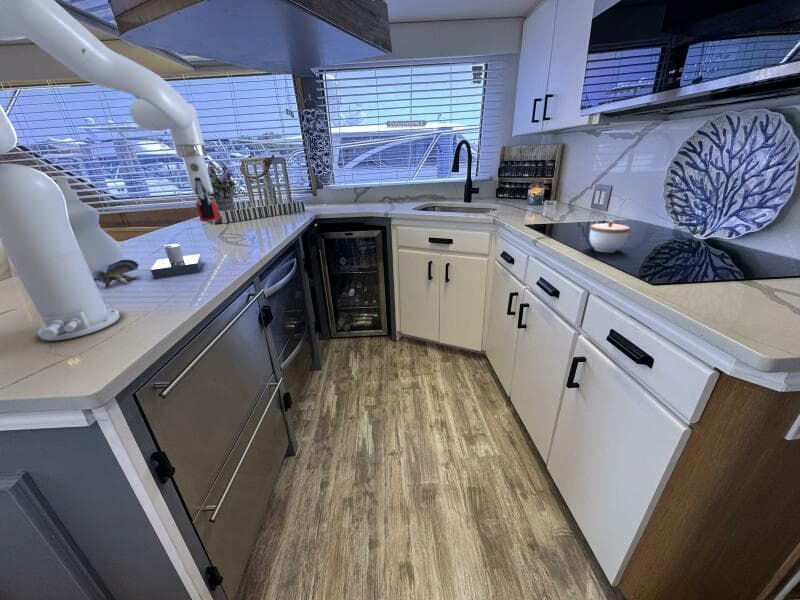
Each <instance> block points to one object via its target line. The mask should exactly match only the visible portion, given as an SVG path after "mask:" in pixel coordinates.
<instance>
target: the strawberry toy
mask: <svg viewBox="0 0 800 600" xmlns="http://www.w3.org/2000/svg"><path fill="white" fill-rule="evenodd" d="M210 199H211V198H210ZM210 199H209V201H210V204H211V205H212V209H213V212H214V216H215V217H214V218H209V219H203V218H202V214H201V211H200V207H199V201H197V202H195V206H196V210H197V214H198V217H199V219H200V222H210V221H211V222H213V221H217V220H220V215H219V212H218V208H217V204H216V201H215V200H212V199H211V200H210Z"/></svg>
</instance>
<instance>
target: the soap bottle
mask: <svg viewBox="0 0 800 600" xmlns="http://www.w3.org/2000/svg"><path fill="white" fill-rule="evenodd" d="M50 178H51V179H52V180H53V179H54V180H55V181H56V184H57V185H58V186H59V188H60V190H61V192H62V194H63V196H64V199H65V204H66V209H67V214H68V219H69V222H70V226H71V228H72V231H73V234H74V236H75V239H76V241H77V243H78V246H79V248H80V250H81V252H82V254H83V256H84V259H85V261H86V263H87V265H88V268H89V270H90V272H91V275H92V277H93V279H94V280H95V279H96V280H97V279H98V278H97V277H95V276H94V275H93V272H95V271H97V270H100V271H103V272H107V269H108V266H109V265H111V264H114V263H116V262H118V261H120V260H124V256H123V255H124V254H123V249H122V248H121V246H120V245H119V244H118V241H117V240H116V239H114V238H113V237H112V236H111V235H109V234H108V233H107V232H105V231H104V229H102V227H101V225H100V223H99V222H100V213H99V211H98V209H97V208H96V207H95V208H94V207H93V206H91V205H89V204H86V203H84V202H83V201H82V200H81V199H80V198H79V195H78V193H77V191H76V188H71V185H70V183H69V180H76V179H77V178H76V177H74V176H71V175H55V176H51V177H50Z"/></svg>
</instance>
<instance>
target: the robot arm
mask: <svg viewBox="0 0 800 600" xmlns="http://www.w3.org/2000/svg"><path fill="white" fill-rule="evenodd" d="M22 39H28V40H29V41H31V42H32V43H34V44H35V45H37V46H38V47H39V48H41V49H42V50H43V51H44V52H46V53H47V54H49V55H50V56H52V57H53V58H54V59H55V60H57V61H58V62H59V63H61V64H62V65H63V66H65V67H66V68H67V69H68V70H70V71H71V72H73V73H74V74H75V75H76V76H78V77H79V78H81V79H82V80H83V81H86V82H88V83H91V84H93V85H96V86H99V87H103V88H106V89H110V90H115V91H118V92H123V93H126V94H129V95H132V96H135V97H136V98H137V99H134V100H133V101H132V102H131V103H130V105H129V108H128V109H129V111H128V112H129V115H130V118H131V120H132V121H133V122H134V123H135V124H136V125H137V126H138V127H139V128H141V129H143V130H145V131H148V132H153V133H157V132H159V133H160V132H169V133H170V136H171V139H172V143H173V146H174V150H175V153H176V156H177V159H181V160H183V164H184V168H185V171H186V174H187V178H188V181H189V184H190V187H191V190H192V193H193V194H194V195H196V197H197V202H199V207H200V211H201V214H202V218H203V219H209V218H214V217H215V216H214V212H213V209H212V205H211V204H210V201H209V199H210V200H211V201H212V199H211V196H210V194H211V195H212V194H213V193H214V188H213V184H212V181H211V177H210V173H209V169H208V166H207V163H206V160H205V159H208V153H207V148H206V146H205V141H204V138H203V137H204V136H203V134H202V129H201V125H200V122H199V118H198V114H197V111H196V108H195V106H194V105H192V103H188V102H187V101H186V100H185V99H184V98H183V96H181V94H180V93H179V92H178V91H176V89H175V88H173V87H172V85H170V83H168V82H167V81H166V80H165V79H164V78H162V77H161V76H160V75H159V74H157V73H155V72H154V71H152V70H150V69H148V68H147V67H145V66H143V65H141V64H139V63H137V62H136V61H134V60H131V59H130V58H128V57H126V56H124V55H122V54H120V53H117V52H115V51H113V50H112V49H111V48H109V47H107V46H106V45H105V44H104V43H103V42H102V41H101V40H99V39H98V38H97V37H96V36H95V35H94V34H93V33H92V32H90V31H89V30H88V29H87V28H86V27H85V26H84V25H83V24H81V23H80V22H79V21H78V20H77V19H76V18H74V16H72V15H71V14H70V13H69V12H68V11H67V10H66V9H65V8H64V7H62V5H60V3H58V2H56V0H0V41H16V40H22ZM17 142H18V137H17V133H16V131H15V128H14V127H13V123H11V120H10V119H9V117H8V116H7V114H6V112H5V111H4V109H3V107H2V106H1V105H0V155H2V154H6V153H8V152H10V151H12V150H13V149H15V147H16V145H17ZM0 241H1V244H2V247H3V250H4V251H5V253H6V255H7V257H8V259H9V261H10V262H11V264H12V266H13V268H14V270H15V271H16V273H17V275H18V277H19V279H20V281H21V283H22V284H23V286H24V288H25V290H26V292H27V294H28V295H29V297H30V299H31V301H32V303H33V305H34V307H35V308H36V311H37V312H38V314H39V316H40V318H41V320H42V321H43V323H44V325H43V326H42V327H41V328H40V329H38V331H37V336H38V338H39V339H40V340H42V341H49V342H50V341H51V342H53V341H54V342H55V341H63V340H70V339H73V338H79V337H83V336H86V335H89V334H93V333H95V332H98V331H101V330H103V329H106V328H107V327H109V326H111V325H113V324H115V323H116V322H117V321H118V320H119V319H120V316H121V315H120V312H119V311H118V310H116V309H113V308H107V306H106V304H105V302H104V299H103V297H102V295H101V293H100V291H99V288H98V286H97V284H96V281H95V279H93V277H92V275H91V272H90V270H89V268H88V265H87V263H86V261H85V259H84V256H83V254H82V252H81V250H80V248H79V246H78V243H77V241H76V239H75V236H74V234H73V231H72V228H71V226H70V222H69V219H68V214H67V209H66V204H65V199H64V196H63V194H62V192H61V190H60V188H59V186H58V183H57V182H55V180H53V179H52V178H51V177H50V176H49V175H47V174H46V173H44V172H42V171H40V170H38V169H36V168H34V167H31V166H27V165H23V164H17V163H0Z"/></svg>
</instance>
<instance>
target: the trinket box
mask: <svg viewBox="0 0 800 600" xmlns="http://www.w3.org/2000/svg"><path fill="white" fill-rule="evenodd" d="M613 221H614V220H608V223H607V222H605V223H604V222H603V223H601V222H600V223H593V224H590V227H589V229H590V230H589V235H588V236H589V237H588V238H589V244H590V246H591V247H592V248H593V250H594V251H596V252H600V253H615V252H616V251H618V250H619V249H620V248H622V247H623V245H624V244H625V243H626V241H627V238H628V235H629V232H630V230H631V228H630V226H628V225H625V224H619V223H614V222H613Z"/></svg>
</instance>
